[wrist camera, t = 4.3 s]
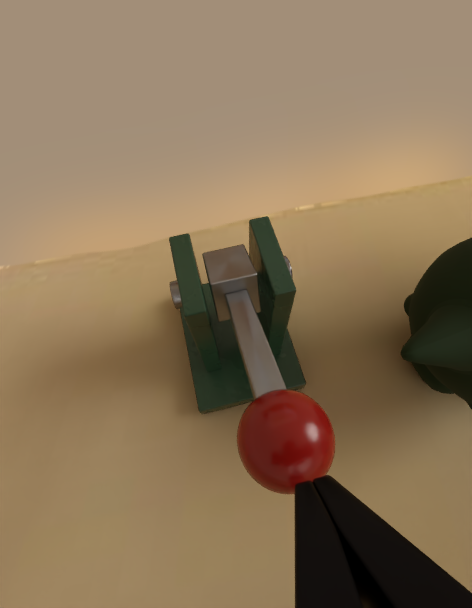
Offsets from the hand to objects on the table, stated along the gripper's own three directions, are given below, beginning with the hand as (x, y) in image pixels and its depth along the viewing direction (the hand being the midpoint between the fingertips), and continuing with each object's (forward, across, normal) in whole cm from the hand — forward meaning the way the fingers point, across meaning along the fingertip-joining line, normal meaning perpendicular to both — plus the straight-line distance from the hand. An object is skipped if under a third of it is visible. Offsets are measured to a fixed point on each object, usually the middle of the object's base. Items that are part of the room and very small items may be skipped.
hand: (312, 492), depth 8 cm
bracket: (+16, 0, +3) cm, 16 cm away
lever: (+7, 0, 0) cm, 7 cm away
